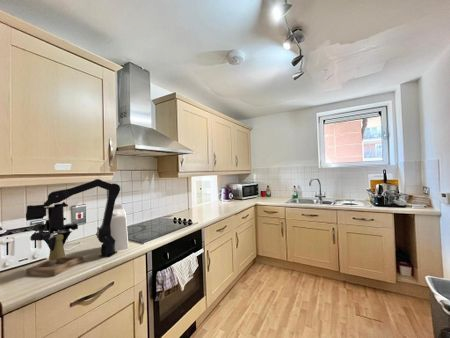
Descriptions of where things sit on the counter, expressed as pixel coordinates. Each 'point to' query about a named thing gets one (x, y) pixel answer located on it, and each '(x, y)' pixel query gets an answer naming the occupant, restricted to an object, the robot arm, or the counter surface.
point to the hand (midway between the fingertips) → (56, 249)
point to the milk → (119, 227)
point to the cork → (57, 248)
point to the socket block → (45, 270)
